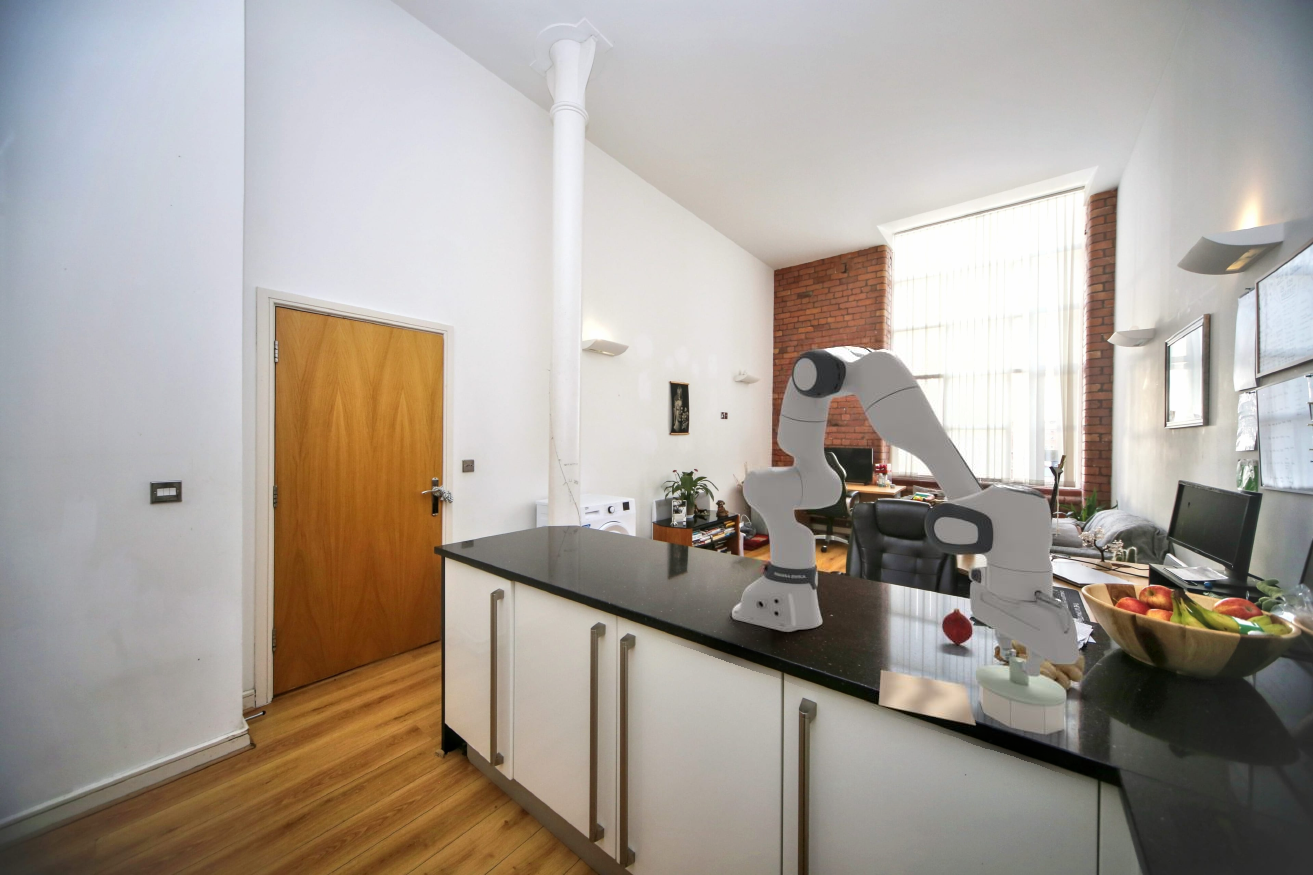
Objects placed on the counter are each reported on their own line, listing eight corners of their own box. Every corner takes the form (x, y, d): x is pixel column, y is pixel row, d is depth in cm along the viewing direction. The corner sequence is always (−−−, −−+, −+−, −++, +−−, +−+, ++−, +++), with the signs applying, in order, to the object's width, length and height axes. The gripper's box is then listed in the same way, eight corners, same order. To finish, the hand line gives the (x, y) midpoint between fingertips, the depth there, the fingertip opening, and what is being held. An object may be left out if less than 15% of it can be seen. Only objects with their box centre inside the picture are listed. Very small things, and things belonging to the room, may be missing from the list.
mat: (878, 707, 84) (878, 704, 84) (881, 672, 97) (881, 669, 97) (975, 728, 78) (975, 724, 78) (964, 688, 90) (964, 685, 90)
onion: (977, 650, 106) (977, 613, 106) (948, 648, 108) (947, 612, 108) (966, 640, 112) (965, 605, 112) (938, 638, 113) (938, 603, 113)
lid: (991, 699, 77) (991, 672, 77) (965, 665, 89) (965, 642, 89) (1083, 710, 74) (1082, 682, 74) (1043, 674, 85) (1043, 649, 85)
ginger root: (1040, 652, 103) (1045, 618, 101) (1106, 711, 87) (1114, 672, 85) (964, 654, 103) (967, 620, 101) (1016, 713, 88) (1021, 675, 86)
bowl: (986, 725, 79) (986, 694, 79) (976, 694, 88) (976, 666, 88) (1070, 743, 74) (1070, 710, 74) (1050, 708, 84) (1050, 679, 84)
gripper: (1092, 603, 71) (1092, 700, 71) (997, 566, 91) (997, 641, 91) (1047, 603, 71) (1048, 699, 71) (962, 566, 91) (963, 641, 91)
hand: (1019, 666), depth 81 cm, fingers open, 4 cm apart
